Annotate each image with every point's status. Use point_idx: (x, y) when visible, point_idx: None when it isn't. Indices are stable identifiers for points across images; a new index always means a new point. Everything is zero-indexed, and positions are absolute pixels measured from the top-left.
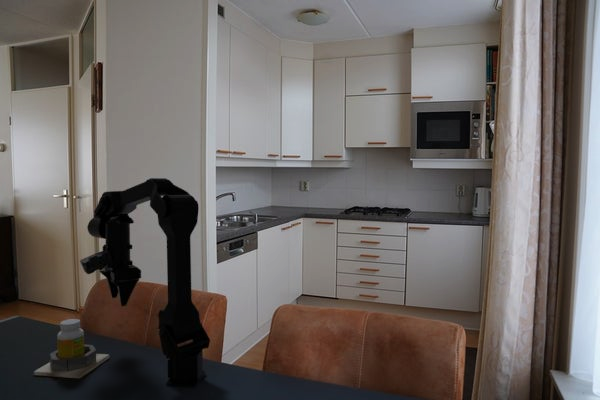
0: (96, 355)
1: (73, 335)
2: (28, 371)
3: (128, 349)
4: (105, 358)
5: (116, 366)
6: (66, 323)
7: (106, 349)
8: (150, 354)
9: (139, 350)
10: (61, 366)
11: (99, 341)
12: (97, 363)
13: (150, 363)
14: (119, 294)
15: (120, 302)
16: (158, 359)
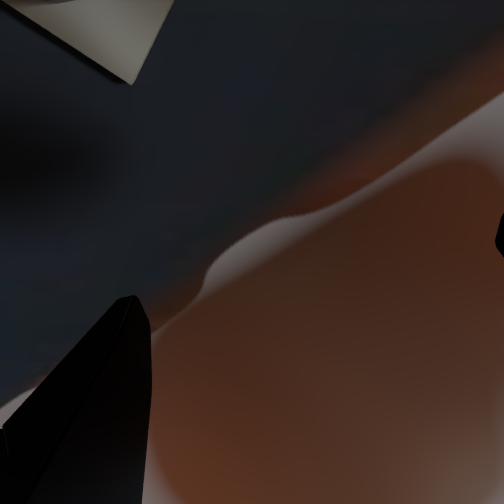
0: (138, 8)
1: None
2: None
3: (215, 174)
4: (96, 61)
5: (6, 112)
6: None
7: (261, 72)
8: (122, 251)
9: (184, 215)
10: None
11: (399, 39)
12: (16, 9)
13: (20, 248)
14: (19, 420)
15: (115, 317)
16: (59, 274)
